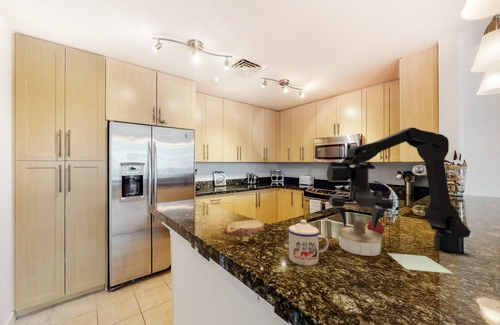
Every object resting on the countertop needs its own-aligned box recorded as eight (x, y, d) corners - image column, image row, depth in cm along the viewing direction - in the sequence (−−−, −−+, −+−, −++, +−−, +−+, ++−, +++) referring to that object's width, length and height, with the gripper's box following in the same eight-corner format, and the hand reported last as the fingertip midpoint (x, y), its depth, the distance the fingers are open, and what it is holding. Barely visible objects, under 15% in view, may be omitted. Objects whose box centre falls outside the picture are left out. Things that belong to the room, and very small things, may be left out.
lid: (372, 232, 75) (372, 218, 75) (389, 244, 62) (389, 228, 62) (334, 229, 77) (334, 216, 78) (344, 241, 65) (344, 225, 65)
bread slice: (263, 224, 101) (263, 217, 101) (267, 236, 83) (267, 227, 83) (227, 224, 100) (227, 216, 101) (223, 236, 82) (223, 226, 83)
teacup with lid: (290, 266, 57) (290, 223, 57) (285, 252, 66) (286, 216, 66) (334, 267, 56) (334, 225, 57) (323, 254, 66) (323, 217, 66)
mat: (425, 257, 64) (425, 256, 64) (453, 275, 53) (453, 273, 53) (386, 254, 66) (386, 252, 66) (406, 270, 55) (406, 269, 55)
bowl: (371, 244, 75) (371, 232, 75) (387, 258, 63) (387, 243, 63) (336, 241, 77) (336, 229, 77) (345, 255, 65) (345, 240, 65)
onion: (387, 240, 80) (387, 219, 80) (372, 240, 80) (372, 219, 80) (378, 235, 85) (378, 216, 86) (364, 235, 86) (364, 216, 86)
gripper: (335, 182, 64) (335, 232, 64) (402, 184, 61) (402, 237, 60) (328, 180, 75) (328, 223, 75) (384, 182, 72) (385, 227, 71)
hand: (359, 227), depth 70 cm, fingers open, 9 cm apart
